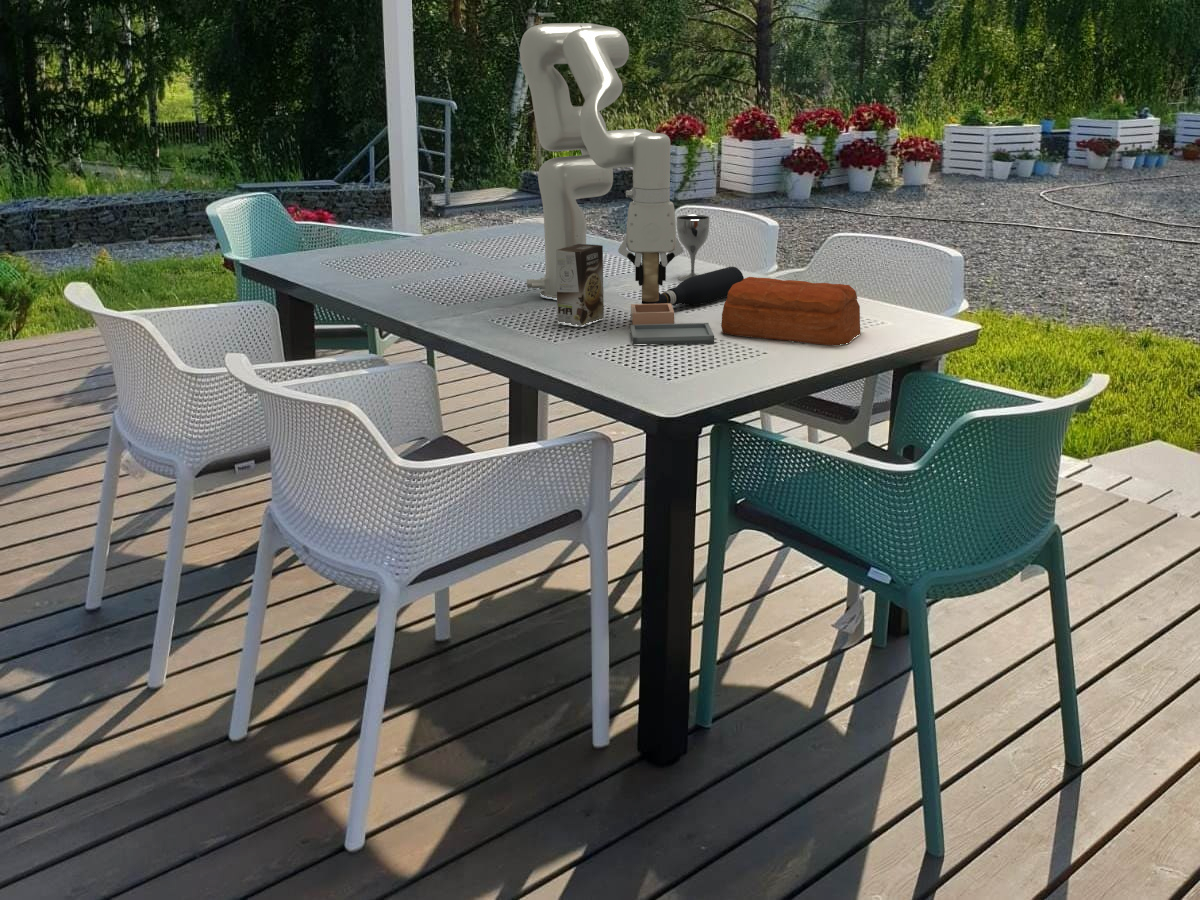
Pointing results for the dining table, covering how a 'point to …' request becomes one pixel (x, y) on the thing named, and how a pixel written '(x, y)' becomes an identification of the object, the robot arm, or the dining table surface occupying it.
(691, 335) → the tray
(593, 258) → the coffee box
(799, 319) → the bread
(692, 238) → the wine glass
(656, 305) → the square copper frame
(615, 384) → the dining table surface
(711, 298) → the wine bottle
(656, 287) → the dowel
